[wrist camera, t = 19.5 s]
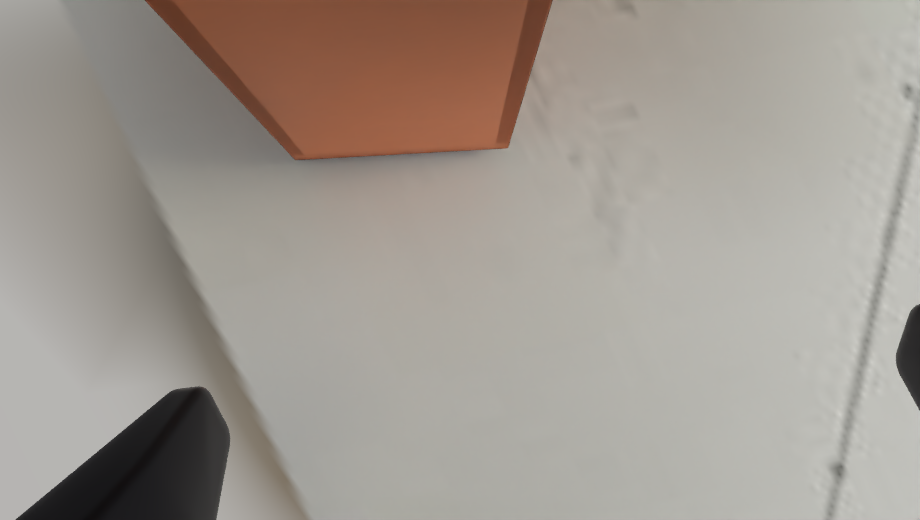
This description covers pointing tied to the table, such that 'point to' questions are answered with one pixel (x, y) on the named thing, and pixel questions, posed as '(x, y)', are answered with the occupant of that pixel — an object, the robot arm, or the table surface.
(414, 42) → the orange bin
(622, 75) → the table surface
